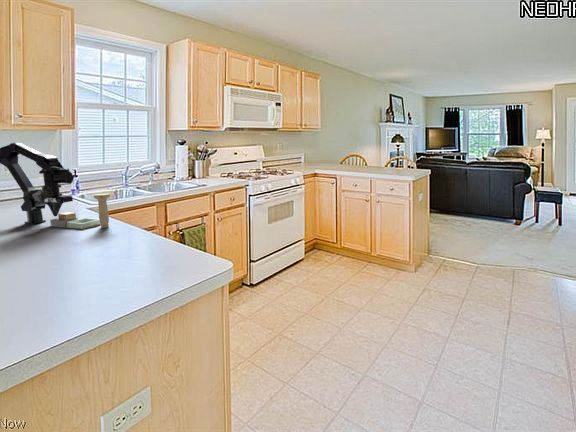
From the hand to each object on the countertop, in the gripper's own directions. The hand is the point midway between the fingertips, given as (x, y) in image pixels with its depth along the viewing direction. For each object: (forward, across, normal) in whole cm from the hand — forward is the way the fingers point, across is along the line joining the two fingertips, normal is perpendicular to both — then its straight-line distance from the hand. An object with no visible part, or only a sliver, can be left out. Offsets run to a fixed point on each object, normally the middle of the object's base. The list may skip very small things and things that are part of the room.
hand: (55, 216), depth 186 cm
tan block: (+1, +8, 0) cm, 8 cm away
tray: (+4, +17, +1) cm, 17 cm away
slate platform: (+4, +7, -1) cm, 8 cm away
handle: (+4, +28, +2) cm, 28 cm away
